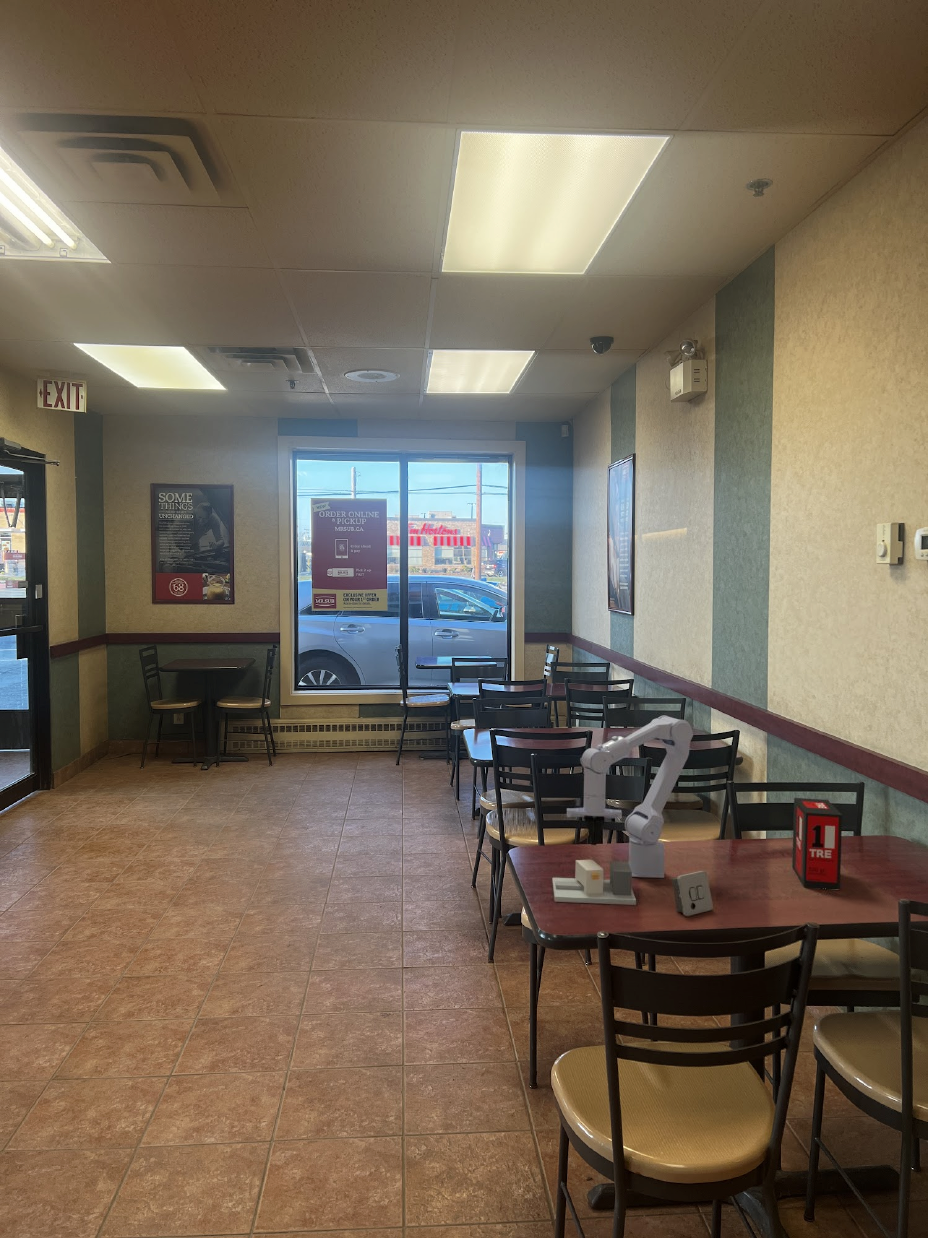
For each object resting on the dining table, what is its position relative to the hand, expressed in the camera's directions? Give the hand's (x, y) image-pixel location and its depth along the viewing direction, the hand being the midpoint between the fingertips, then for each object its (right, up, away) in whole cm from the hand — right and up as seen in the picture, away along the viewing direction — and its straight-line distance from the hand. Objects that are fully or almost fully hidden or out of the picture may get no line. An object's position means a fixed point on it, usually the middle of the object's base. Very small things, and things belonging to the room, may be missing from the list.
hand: (593, 844), depth 222 cm
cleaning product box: (+61, -11, +3) cm, 62 cm away
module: (-3, -9, -10) cm, 14 cm away
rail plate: (-2, -10, -11) cm, 15 cm away
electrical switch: (+20, -11, -21) cm, 31 cm away
